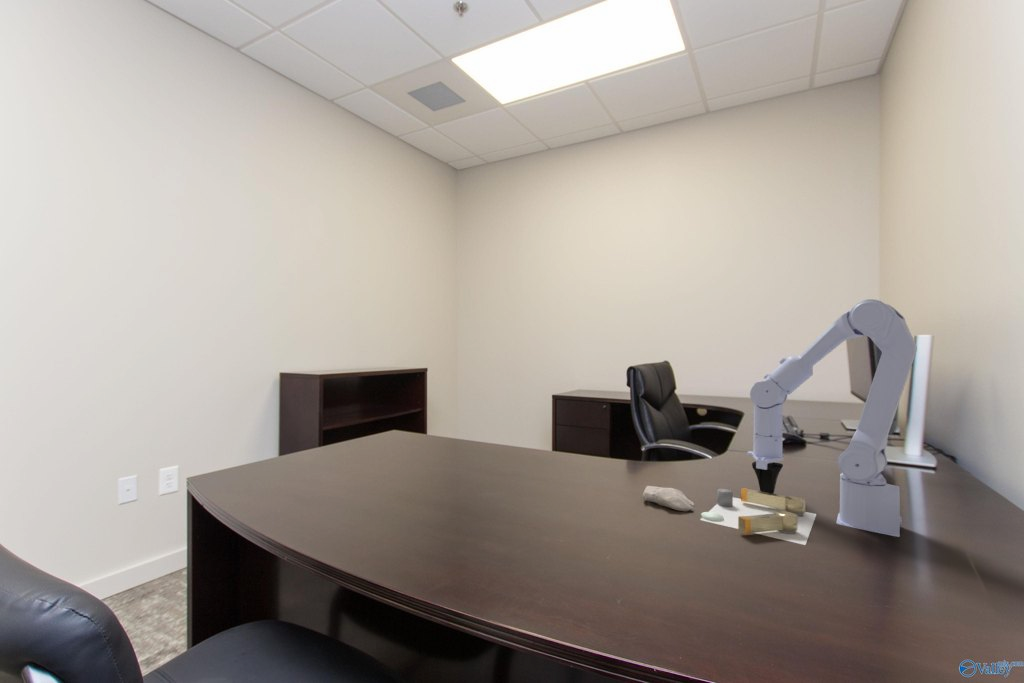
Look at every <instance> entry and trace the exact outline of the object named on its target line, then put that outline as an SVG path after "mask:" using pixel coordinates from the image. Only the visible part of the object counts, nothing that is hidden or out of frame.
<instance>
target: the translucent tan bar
mask: <svg viewBox="0 0 1024 683" xmlns="http://www.w3.org/2000/svg"><path fill="white" fill-rule="evenodd" d="M737 530H738V532H741V533H743V534H744V535H749V534H756V532H766V531H775V530H786V531H797V530H798V516H797V515H796V514H794V513H791V512H787V511H776V512H775V514H764V515H753V516H738V529H737Z"/></svg>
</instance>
